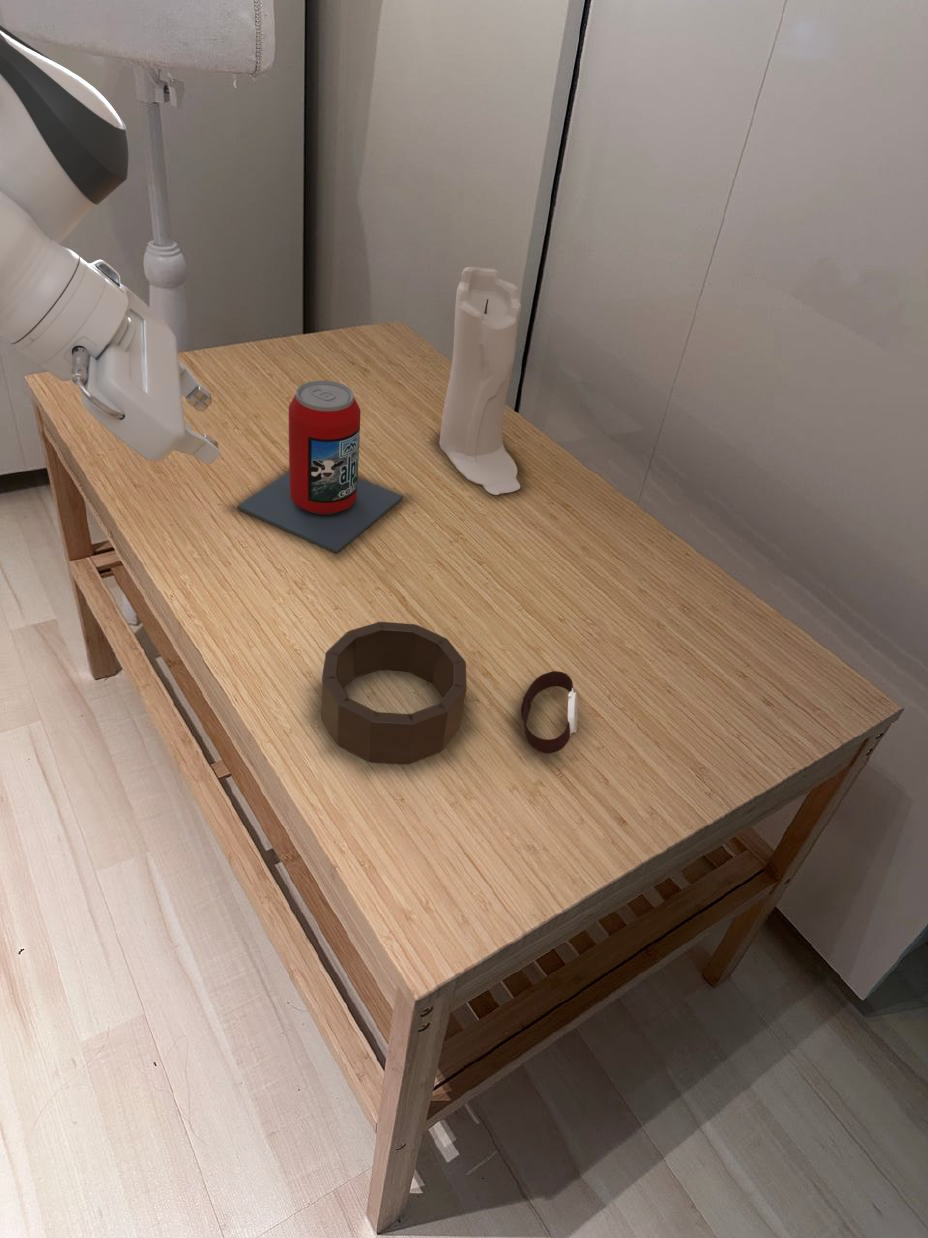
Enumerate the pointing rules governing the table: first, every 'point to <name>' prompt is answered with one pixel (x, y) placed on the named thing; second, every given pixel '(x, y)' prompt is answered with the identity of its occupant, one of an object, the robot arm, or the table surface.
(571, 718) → the watch
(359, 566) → the table surface
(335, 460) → the beverage can
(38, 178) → the robot arm
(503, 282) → the candle
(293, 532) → the mat
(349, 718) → the faceted ring
